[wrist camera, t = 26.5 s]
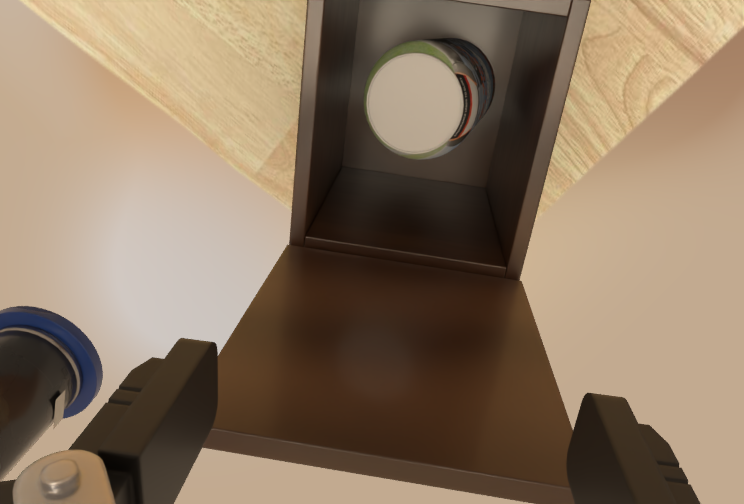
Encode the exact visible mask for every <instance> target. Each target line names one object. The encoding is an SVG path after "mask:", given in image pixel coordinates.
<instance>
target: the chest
mask: <svg viewBox="0 0 744 504" xmlns="http://www.w3.org/2000/svg"><path fill="white" fill-rule="evenodd" d="M590 3H591V0H307V12H306V25H305V39H304V52H303V66H302V80H301V93H300V107H299V120H298V134H297V147H296V161H295V175H294V188H293V202H292V217H291V229H290V242H289V245H293V246H299V247H306V248H312V249H319V250H325V251H331V252H338V253H344V254H351V255H357V256H364V257H370V258H377V259H383V260H389V261H396V262H402V263H409V264H415V265H422V266H428V267H435V268H441V269H448V270H454V271H460V272H467V273H473V274H480V275H486V276H493V277H499V278H506V279H512V280H518V281H519V280H520V276H521V272H522V268H523V264H524V260H525V256H526V253H527V249H528V245H529V241H530V237H531V233H532V229H533V225H534V221H535V217H536V214H537V210H538V206H539V202H540V198H541V194H542V190H543V186H544V182H545V179H546V175H547V171H548V167H549V163H550V159H551V155H552V151H553V147H554V143H555V140H556V136H557V132H558V128H559V124H560V120H561V116H562V112H563V108H564V105H565V101H566V97H567V93H568V89H569V85H570V81H571V77H572V73H573V69H574V66H575V62H576V58H577V54H578V50H579V46H580V42H581V38H582V34H583V31H584V27H585V23H586V19H587V15H588V11H589V7H590ZM440 38H458V39H462V40H465V41H468V42H470V43H472V44H474V45H475V46H476V47H478V48H479V49H480V50H481V51H482V52H483V53H484V54H485V55H486V57H487V58H488V60H489V62H490V64H491V66H492V69H493V72H494V77H495V92H494V97H493V100H492V103H491V105H490V107H489V109H488V111H487V112H486V114H485V115H484V116H483V118H482V119H481V120H480V121H479V122H478V124H477V125H476V126H475V127H474V128H473V130H472V131H471V132H470V133H469V134H468V136H467V137H466V138H465V139H464V140H463V141H462V142H461V143H460V144H459V145H458V146H457V147H456V148H455V149H453V150H451V151H450V152H448V153H447V154H444V155H442V156H439V157H436V158H432V159H423V160H417V159H410V158H406V157H403V156H400V155H398V154H396V153H394V152H392V151H390V150H389V149H388V148H386V147H385V146H384V145H383V144H382V143H381V142H380V141H379V140H378V139H377V138H376V136H375V135H374V133H373V132H372V130H371V128H370V126H369V124H368V121H367V118H366V114H365V110H364V90H365V86H366V82H367V79H368V76H369V74H370V72H371V70H372V68H373V67H374V65H375V64H376V62H377V61H378V60H379V59H380V58H381V57H382V56H383V55H384V54H385V53H386V52H388V51H389V50H390V49H392V48H393V47H395V46H397V45H399V44H402V43H405V42H408V41H413V40H424V39H440Z"/></svg>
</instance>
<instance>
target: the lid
mask: <svg viewBox="0 0 744 504" xmlns="http://www.w3.org/2000/svg"><path fill="white" fill-rule="evenodd" d="M572 434H573V430H572V427H571V424H570V421H569V418H568V415H567V413H566V410H565V407H564V404H563V401H562V398H561V395H560V392H559V389H558V386H557V383H556V380H555V377H554V374H553V371H552V369H551V366H550V363H549V360H548V357H547V354H546V351H545V348H544V345H543V342H542V339H541V337H540V334H539V331H538V328H537V325H536V322H535V319H534V316H533V313H532V311H531V308H530V305H529V302H528V299H527V296H526V293H525V290H524V287H523V284H522V282H521V281H518V280H512V279H506V278H499V277H493V276H486V275H480V274H473V273H467V272H460V271H454V270H448V269H441V268H435V267H428V266H422V265H415V264H409V263H402V262H396V261H389V260H383V259H377V258H370V257H364V256H357V255H351V254H344V253H338V252H331V251H325V250H319V249H312V248H306V247H299V246H293V245H287V247H286V248H285V250H284V251H283V253H282V254H281V256H280V258H279V259H278V261H277V262H276V264H275V266H274V267H273V269H272V271H271V272H270V274H269V275H268V277H267V279H266V280H265V282H264V283H263V285H262V287H261V288H260V290H259V291H258V293H257V294H256V297H255V298H254V299H253V301H252V302H251V304H250V306H249V308H248V309H247V310H246V312H245V314H244V315H243V317H242V318H241V320H240V322H239V323H238V325H237V327H236V328H235V330H234V331H233V333H232V335H231V336H230V338H229V339H228V341H227V343H226V344H225V346H224V347H223V349H222V350H221V352H220V354H219V355H218V407H217V413H216V417H215V421H214V424H213V427H212V429H211V431H210V433H209V435H208V437H207V439H206V441H205V443H204V445H203V447H202V448H208V449H214V450H220V451H226V452H232V453H239V454H244V455H250V456H256V457H262V458H268V459H273V460H279V461H285V462H292V463H297V464H303V465H309V466H315V467H321V468H327V469H333V470H339V471H345V472H350V473H356V474H362V475H368V476H374V477H381V478H386V479H392V480H398V481H404V482H410V483H416V484H422V485H427V486H433V487H440V488H445V489H451V490H457V491H464V492H469V493H475V494H481V495H487V496H493V497H499V498H504V499H510V500H516V501H523V502H528V503H534V504H575V503H574V499H573V496H572V492H571V489H570V485H569V482H568V477H567V468H566V461H567V452H568V447H569V444H570V440H571V437H572Z"/></svg>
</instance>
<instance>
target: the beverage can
mask: <svg viewBox="0 0 744 504" xmlns="http://www.w3.org/2000/svg"><path fill="white" fill-rule="evenodd" d="M494 92H495V77H494V72H493V69H492V66H491V64H490V62H489V60H488V58H487V57H486V55H485V54H484V53H483V52H482V51H481V50H480V49H479V48H478V47H476V46H475V45H474V44H472V43H470V42H468V41H465V40H462V39H458V38H440V39H424V40H413V41H408V42H405V43H402V44H399V45H397V46H395V47H393V48H392V49H390V50H389V51H388V52H386V53H385V54H384V55H383V56H382V57H381V58H380V59H379V60H378V61H377V62H376V64H375V65H374V67H373V68H372V70H371V72H370V74H369V76H368V79H367V82H366V86H365V90H364V110H365V114H366V118H367V121H368V124H369V126H370V128H371V130H372V132H373V133H374V135H375V136H376V138H377V139H378V140H379V141H380V142H381V143H382V144H383V145H384V146H385V147H386V148H388V149H389V150H390V151H392V152H394V153H396V154H398V155H400V156H403V157H406V158H410V159H417V160H423V159H432V158H436V157H439V156H442V155H444V154H447V153H448V152H450V151H451V150H453V149H455V148H456V147H457V146H458V145H459V144H460V143H461V142H462V141H463V140H464V139H465V138H466V137H467V136H468V134H469V133H470V132H471V131H472V130H473V128H474V127H475V126H476V125H477V124H478V122H479V121H480V120H481V119H482V118H483V116H484V115H485V114H486V112H487V111H488V109H489V107H490V105H491V103H492V100H493V97H494Z"/></svg>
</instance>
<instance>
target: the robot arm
mask: <svg viewBox="0 0 744 504" xmlns="http://www.w3.org/2000/svg"><path fill="white" fill-rule="evenodd" d="M217 354H218V353H217V346H216V343H214V342H208V341H199V340H193V339H185V338H181V339H179V340H178V341H177V342H176V344H175V345H174V347H173V348H172V349H171V351H170V352H169V353H168V355H167V356H166V357H165V359H160V358H153V357H152V358H151V359H149V360H148V361H146V362H144V363H143V364H141V365H140V366H138V367H136V368H135V369H133V370H132V371H131V372H130V373H129V374H128V376H127V377H126V378H125V380H124V381H123V382H122V383H121V385H120V386H119V389H117V390H116V391H115V392H114V393H113V394H112V396H111V397H110V398H109V401H108V403H105V405H104V406H103V407H102V408H101V409H100V411H99V412H98V413H97V415H96V416H95V417H94V418H93V420H92V421H91V422H90V423H89V424H88V426H87V427H86V428H85V429H84V431H83V432H82V433H81V435H80V436H79V437H78V438H77V439H76V441H75V442H74V443H73V444H72V446H71V447H70V448H69V449H68V450H66V451H60V452H56V453H53V454H50V455H47V456H45V457H42V458H40V459H39V460H37V461H35V462H33V463H32V464H31V465H29V466H28V467H27V468H26V469H25V470H23V471H22V473H21V474H20V475H19V476H18V478H17V479H16V480H10V481H2V480H3V479H4V478H5V476H6V475H7V474H8V473H9V472H10V471H11V470H12V469H13V467H14V466H15V465H16V464H17V463H18V462H19V461H20V460H21V458H22V457H23V456H24V455H25V454H26V453H27V452H28V451H29V449H30V448H31V447H32V446H33V445H34V444H35V443H36V442H37V440H38V439H39V438H40V437H41V436H42V435H43V434H44V433H45V431H46V430H47V429H48V428H49V427H50V426H51V425H52V424H53V423H54V428H55V427H56V426H57V424H58V423H59V422H60V421H61V420H62V419H63V413H64V410H65V409H66V408H67V407H69V406H70V405H71V404H72V403H73V402H74V400H75V399H76V398H77V397H78V395H79V394H80V392H81V389H82V385H83V374H82V370H81V367H80V364H79V362H78V360H77V358H76V356H75V355H74V353H73V352H72V351H71V350H70V348H69V347H68V346H67V345H66V344H65V343H63V342H62V341H61V340H60V339H59V338H57V337H56V336H54V335H53V334H51V333H49V332H47V331H45V330H43V329H40V328H37V327H33V326H29V325H10V326H6V327H3V328H1V329H0V504H174V502H175V500H176V498H177V496H178V494H179V492H180V490H181V488H182V486H183V484H184V482H185V480H186V478H187V476H188V474H189V472H190V470H191V468H192V466H193V464H194V462H195V460H196V459H197V457H198V454H199V453H200V451H201V449H202V447H203V445H204V443H205V441H206V439H207V437H208V435H209V433H210V431H211V429H212V427H213V424H214V421H215V417H216V413H217V407H218V356H217ZM566 468H567V477H568V482H569V485H570V489H571V492H572V496H573V499H574V503H575V504H700V502H699V500H698V498H697V496H696V494H695V493H694V491H693V489H692V487H691V485H689V484H688V479H687V477H686V476H685V474H684V472H683V470H682V468H679V462H678V460H677V459H676V457H675V455H674V453H673V451H672V449H671V447H670V446H669V444H668V443H667V442H666V441H665V440H664V439H663V438H662V437H661V436H660V435H659V434H658V433H657V432H656V431H655V430H654V429H653V428H652V427H651V426H650V425H644V424H638V422H637V420H636V418H635V416H634V414H633V412H632V410H631V408H630V406H629V404H628V402H627V400H626V399H625V398H623V397H616V396H609V395H601V394H593V393H587V394H586V395H585V396H584V398H583V400H582V403H581V406H580V410H579V413H578V417H577V420H576V423H575V427H574V430H573V434H572V437H571V440H570V444H569V447H568V452H567V461H566ZM1 481H2V482H1Z"/></svg>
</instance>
